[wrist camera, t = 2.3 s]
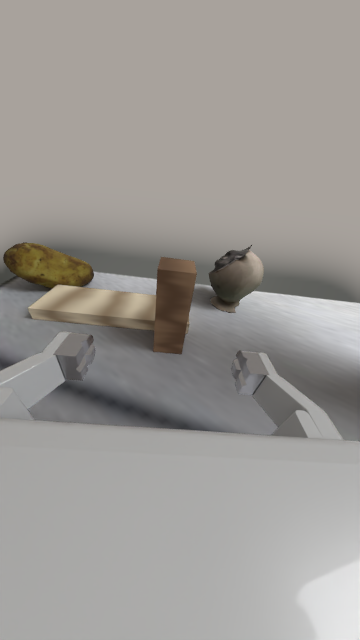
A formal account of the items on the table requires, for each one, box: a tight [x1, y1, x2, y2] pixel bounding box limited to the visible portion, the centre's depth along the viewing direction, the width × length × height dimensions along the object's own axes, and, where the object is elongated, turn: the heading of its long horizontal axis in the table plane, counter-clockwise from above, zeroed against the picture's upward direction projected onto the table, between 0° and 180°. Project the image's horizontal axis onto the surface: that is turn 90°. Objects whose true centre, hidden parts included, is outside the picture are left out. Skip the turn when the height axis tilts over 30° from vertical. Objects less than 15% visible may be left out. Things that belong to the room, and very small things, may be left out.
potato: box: [3, 243, 94, 289], centre depth 33 cm, size 8×13×8 cm, turn 96°
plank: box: [28, 285, 189, 334], centre depth 31 cm, size 24×8×2 cm, turn 90°
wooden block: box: [153, 257, 197, 354], centre depth 26 cm, size 4×11×12 cm, turn 0°
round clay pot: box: [209, 245, 264, 313], centre depth 36 cm, size 10×12×10 cm
